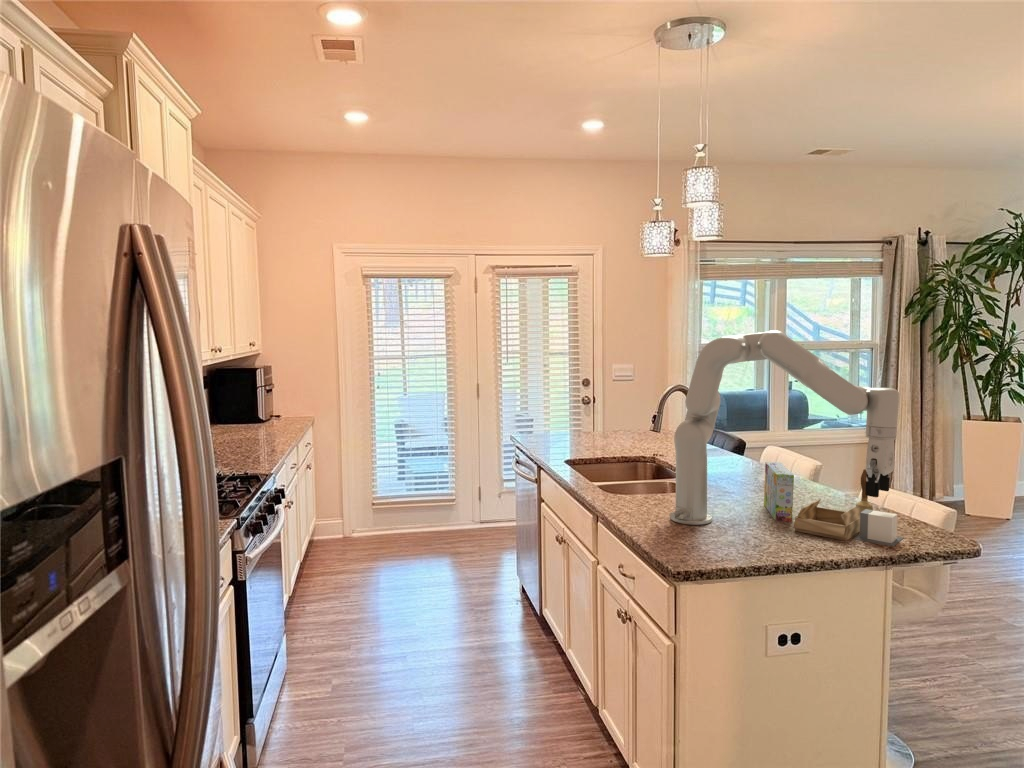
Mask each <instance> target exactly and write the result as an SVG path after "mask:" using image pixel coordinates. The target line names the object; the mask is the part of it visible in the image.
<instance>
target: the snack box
mask: <svg viewBox="0 0 1024 768" xmlns="http://www.w3.org/2000/svg"><path fill="white" fill-rule="evenodd" d="M764 463H765V464H764V465H765V467H764V498H763V499H764V500H763V506H765V509H766V510H767V512H768V513H769V514H770V515H771V516H772V519H774V521H776V522H793V507H794V506H793V505H794V504H793V503H794V486H795V485H794V484H795V483H794V481H795V475H794V474H793V473H792V472H791V471H790V470H789V469H788V468H787V467H786V466H785V465H784V464H783V463H782V462H777V461H776V462H774V461H771V462H770V461H768V462H767V461H766V462H764Z"/></svg>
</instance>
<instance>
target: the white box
mask: <svg viewBox="0 0 1024 768" xmlns="http://www.w3.org/2000/svg"><path fill="white" fill-rule="evenodd" d="M897 533H898V513H891V512H886V511H885V512H884V511H879V510H874V509H873V510H868V509H865V510H864V511H862V512H861V513H860V532H859V534H860V537H861V538H866V539H872V540H877V541H882V542H888V543H892V542H894V541H895V540H896V539H897V537H898V534H897Z"/></svg>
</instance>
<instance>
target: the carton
mask: <svg viewBox="0 0 1024 768" xmlns="http://www.w3.org/2000/svg"><path fill="white" fill-rule="evenodd" d="M820 502H821V498H819V499H817V500H815V501H813V502H811V503H809V504H807V505H805V506H804V507H801V508H800V511H799V512H798V514H797V516H795V517H794V523H793V528H794V532H797V533H798V532H799V533H804V534H809V535H814V536H819V537H825V538H830V539H836V540H840V541H848V540H849V539H851V538H852V537H854V536H855V535H857V534H858V533H860V513H861V509H860V507H859V505H857V506H856V505H855V506H854V507H852V508H850V509H849V510H847V511H845V510H840V509H832V508H827V507H821V506H818V505H819V504H820Z"/></svg>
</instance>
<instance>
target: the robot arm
mask: <svg viewBox="0 0 1024 768" xmlns="http://www.w3.org/2000/svg"><path fill="white" fill-rule="evenodd" d="M765 360H768V361H769V362H771V363H772V364H774V365H775V366H777V367H778V368H780V369H781V370H783V371H784V372H786V373H787V374H788V375H789V376H791V378H792V377H793V379H795V380H797V381H798V382H799V383H801V384H802V385H803V386H804V387H806V388H808V389H810V390H812V391H813V392H814V393H815V394H816V395H818V396H820V397H821V398H822V399H824V400H825V401H826V402H827V403H830V404H831V405H832V406H833V407H835V408H836V409H838V410H839V411H841V412H843V413H844V414H847V415H852V416H854V415H855V416H856V415H859V414H861V413H862V412H866V424H865V437H866V438H868V440H867V449H866V461H865V469H866V472H867V474H866V475H867V478H866V491H865V495H866V496H867V497H872V498H878V497H879V496H880V491H882V492H883V491H884V492H889V491H890V482H891V481H890V479H891V478H890V477H891V473H893V472H894V471H895V455H896V454H895V447H896V446H895V440H897V438H898V437H897V435H898V422H899V421H898V420H899V406H900V393H899V391H898V390H897V389H896V388H891V387H866V386H860V385H854V384H853V383H851V382H850V381H848V380H847V379H846V378H844V377H842V376H840V375H839V374H838V373H836V372H835V371H834V370H833V369H832V368H830V366H828V365H827V364H826V362H824V361H823V359H821V358H820V357H819V356H817V355H816V354H814V353H813V352H811V351H810V350H808V349H807V348H805V347H803V346H802V345H800V344H799V343H798V342H796V341H794V340H793V339H792V338H791V337H789V336H788V335H787V334H786V333H785V332H783V331H781V330H775V329H773V330H768V331H764V332H757V333H756V332H755V333H747V334H733V335H726V336H721V337H718V338H716V339H713V340H711V341H710V342H708V343H707V344H705V345H704V346H703V348H702V349H701V350H700V352H699V354H698V357H697V359H696V362H695V366H694V369H693V373H692V376H691V380H690V384H689V387H688V390H687V394H686V396H685V402H684V403H685V408H686V409H687V411H686V414H685V417H684V420H683V421H682V422H680V423H679V424H678V426H677V427H676V430H675V432H674V451H675V507H674V508H675V509H674V511H672V512H671V513H669V518H670V520H671V521H673V522H676V523H678V524H683V525H690V526H694V525H695V526H700V525H708V524H710V523H711V522H713V516H712V515H710V514H709V513H708V449H707V445H708V444H707V443H708V442H709V440H711V438H712V436H713V433H714V430H715V425H716V421H717V417H718V414H719V410H720V406H721V401H722V400H721V394H720V391H719V388H720V384H721V381H722V378H723V373H724V371H725V368H726V367H727V366H728V365H730V364H731V365H732V364H739V363H744V362H745V363H746V362H753V361H754V362H755V361H765Z"/></svg>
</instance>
